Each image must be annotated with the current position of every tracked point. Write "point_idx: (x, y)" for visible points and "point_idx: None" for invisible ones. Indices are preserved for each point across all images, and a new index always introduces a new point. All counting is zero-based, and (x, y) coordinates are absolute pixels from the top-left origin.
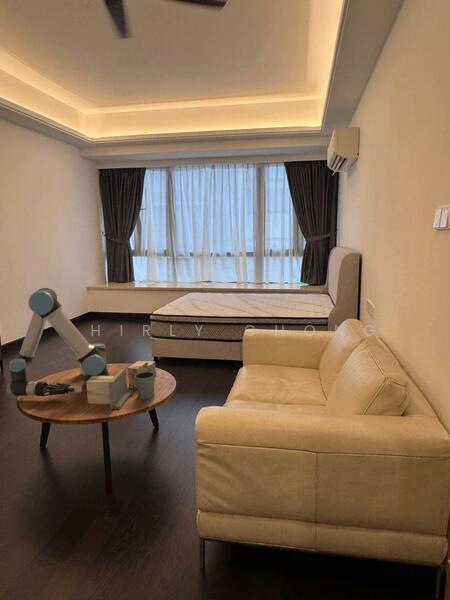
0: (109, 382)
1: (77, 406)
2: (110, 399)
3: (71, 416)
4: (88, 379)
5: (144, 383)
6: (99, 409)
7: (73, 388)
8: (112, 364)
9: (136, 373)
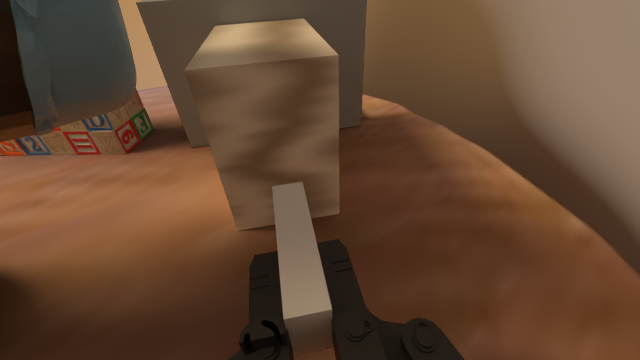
0: None
1: (404, 243)
2: (361, 83)
3: (521, 199)
4: (289, 59)
5: None
6: (381, 147)
7: (319, 250)
8: None
9: None
